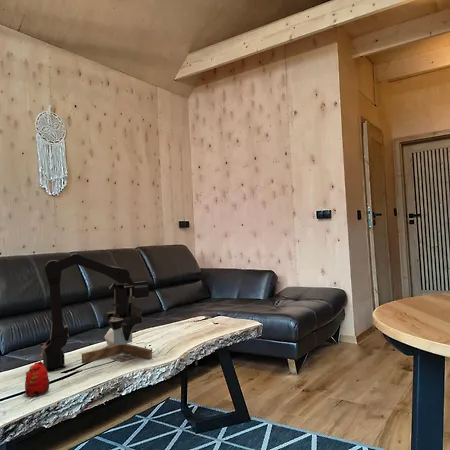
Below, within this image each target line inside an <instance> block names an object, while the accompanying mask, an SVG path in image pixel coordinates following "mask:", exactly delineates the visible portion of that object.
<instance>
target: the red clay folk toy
mask: <svg viewBox="0 0 450 450" xmlns="http://www.w3.org/2000/svg"><path fill="white" fill-rule="evenodd" d="M45 344H46V342H45V343H44V344H43V345H42V346H40V348H41V353H40V360H39V361H38V362H34V364H32V365H31V366H30V367H29V369H28V370H27V371H26V372H25V379H24V380H25V381H24V389H25V390H24V391H25V395H26V396H28V397H34V396H38V395H39V396H41V395H43V394H44V393H46V392H47V391H49V388H50V379H49V374H48V371H47V370H46V368H45V366H44V365H43V361H42V359H43V352H44V348H45V347H44V346H45ZM46 347H47V346H46Z"/></svg>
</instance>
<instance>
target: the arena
mask: <svg viewBox="0 0 450 450" xmlns="http://www.w3.org/2000/svg"><path fill="white" fill-rule="evenodd" d="M120 353H121V354H122V355H120ZM125 353H126V354H125ZM129 354H130V355H129ZM116 355H119V356H116ZM132 355H133V356H132ZM113 356H115V357H113ZM110 357H111V358H110ZM105 358H106V359H107V358H110V360H112V359H113V360H112V361H116V360H117V362H119V361H120V363H123V362H127V361H129V360H134V359H137V358H141V359H144V360H147V361H150V360H152V359H153V350H152V348H151V349H150V348H145V347H141V346H137V345H134V344H131V343H127V344H123V345H120V344H118V345H114V346H110V347H108V346H106V347H101V348H99V349H98V348H97V349H95V350H91V351H86V352H82V353H81V363H82V364H87V363H91V362H95V361H99V360H102V359H105ZM126 360H127V361H126Z"/></svg>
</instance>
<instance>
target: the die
mask: <svg viewBox="0 0 450 450" xmlns="http://www.w3.org/2000/svg"><path fill="white" fill-rule="evenodd" d="M104 340H105V342H106V344H107V347H110V346H114V345H118V344H116V343H114V331H113V329H112V328H109V330H108V331H107V332H106V334H105V335H104Z"/></svg>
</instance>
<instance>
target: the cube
mask: <svg viewBox="0 0 450 450" xmlns="http://www.w3.org/2000/svg"><path fill="white" fill-rule="evenodd" d="M114 343H116V344H120V345H123V344H131V343H133V329H132V330H131V334H130V337H129V340H128V341H125V338H124V334H123V331H122V327H121V329H117V330H114Z"/></svg>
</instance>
